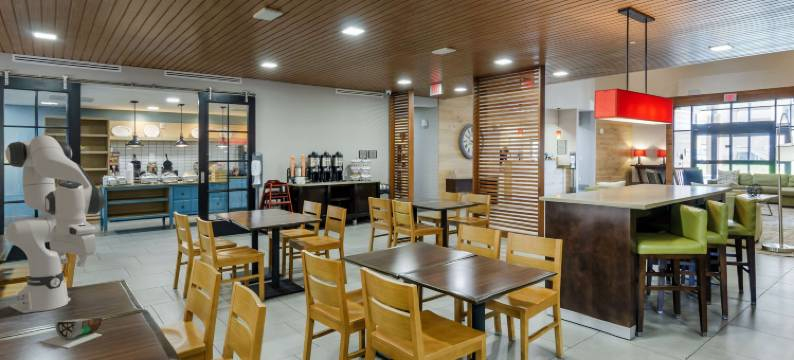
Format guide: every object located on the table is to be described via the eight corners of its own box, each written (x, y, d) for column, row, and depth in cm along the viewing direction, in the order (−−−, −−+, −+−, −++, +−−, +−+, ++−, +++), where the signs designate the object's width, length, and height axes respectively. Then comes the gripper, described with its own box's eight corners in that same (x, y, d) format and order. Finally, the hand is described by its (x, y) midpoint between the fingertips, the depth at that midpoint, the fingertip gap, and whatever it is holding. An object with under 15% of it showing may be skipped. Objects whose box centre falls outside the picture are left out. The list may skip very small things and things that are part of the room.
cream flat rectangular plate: (41, 342, 161) (41, 341, 161) (76, 329, 172) (76, 329, 172) (68, 348, 156) (67, 347, 156) (102, 335, 167) (102, 334, 167)
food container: (81, 335, 172) (53, 339, 163) (82, 318, 173) (54, 322, 164) (103, 334, 168) (75, 339, 158) (104, 317, 169) (76, 321, 160)
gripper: (43, 226, 166) (45, 263, 167) (81, 231, 158) (82, 270, 159) (62, 223, 172) (63, 259, 173) (98, 228, 164) (99, 266, 165)
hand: (72, 265), depth 166 cm, fingers open, 8 cm apart
